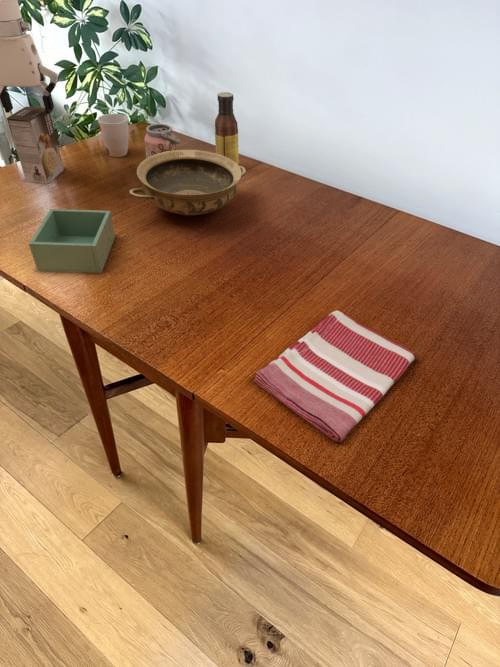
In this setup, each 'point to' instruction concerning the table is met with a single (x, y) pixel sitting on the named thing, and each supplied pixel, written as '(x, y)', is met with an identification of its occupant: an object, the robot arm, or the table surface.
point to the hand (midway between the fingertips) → (29, 111)
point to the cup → (114, 133)
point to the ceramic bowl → (188, 181)
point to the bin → (73, 241)
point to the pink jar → (159, 139)
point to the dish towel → (335, 373)
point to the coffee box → (36, 144)
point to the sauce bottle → (226, 128)
